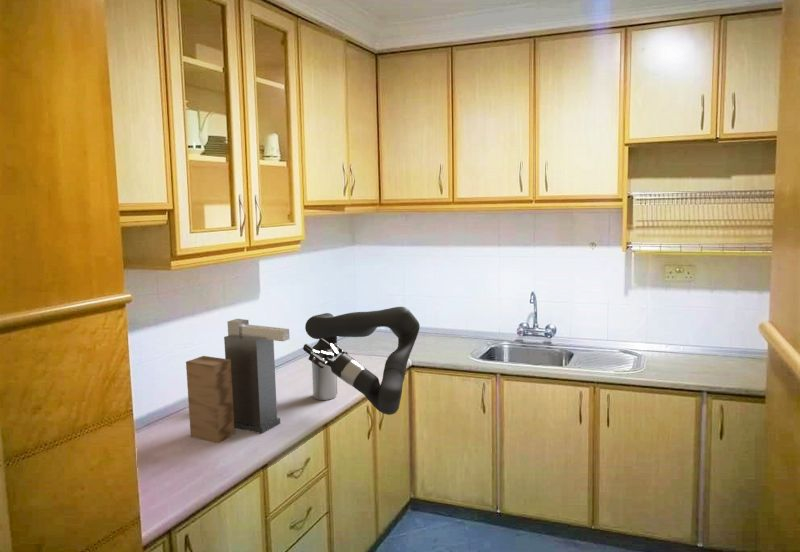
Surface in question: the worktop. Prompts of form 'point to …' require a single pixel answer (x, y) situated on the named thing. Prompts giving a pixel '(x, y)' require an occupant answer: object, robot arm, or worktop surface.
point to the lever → (256, 331)
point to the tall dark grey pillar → (252, 382)
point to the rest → (210, 398)
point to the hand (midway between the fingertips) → (312, 343)
